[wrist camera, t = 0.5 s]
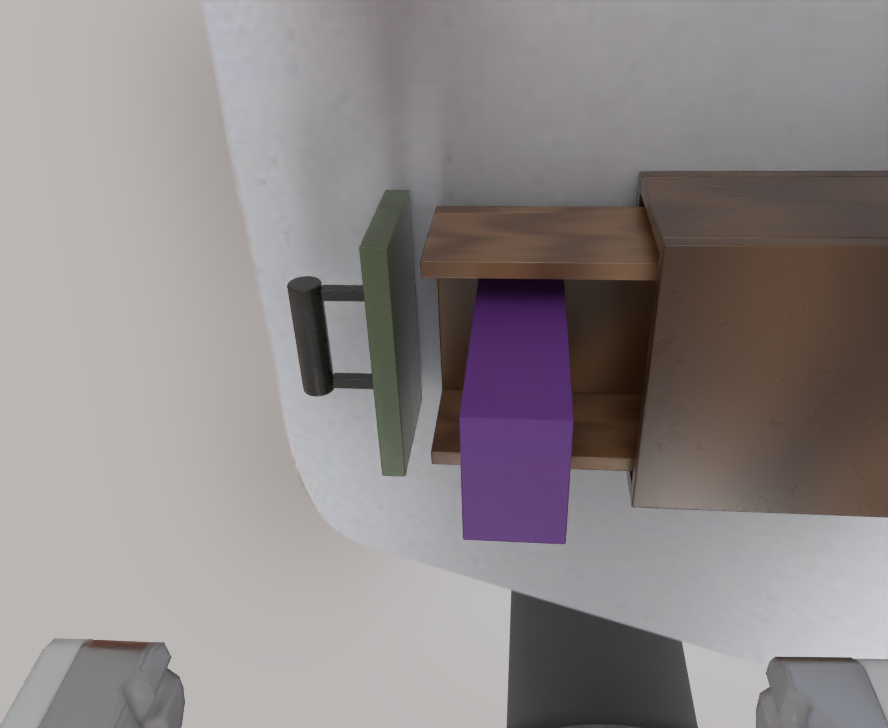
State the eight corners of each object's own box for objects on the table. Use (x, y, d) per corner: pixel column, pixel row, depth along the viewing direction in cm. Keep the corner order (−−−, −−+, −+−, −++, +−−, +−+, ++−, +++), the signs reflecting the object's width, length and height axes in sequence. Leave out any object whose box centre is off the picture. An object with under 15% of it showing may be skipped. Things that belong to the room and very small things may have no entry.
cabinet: (616, 403, 45) (631, 507, 38) (639, 170, 37) (664, 244, 30) (904, 411, 43) (978, 521, 36) (987, 170, 36) (1101, 248, 29)
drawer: (327, 396, 45) (298, 473, 40) (298, 189, 39) (258, 246, 33) (660, 405, 43) (679, 487, 38) (690, 189, 37) (718, 249, 31)
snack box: (557, 364, 41) (565, 544, 31) (482, 363, 42) (463, 540, 31) (562, 260, 38) (573, 420, 27) (480, 260, 39) (459, 417, 28)
